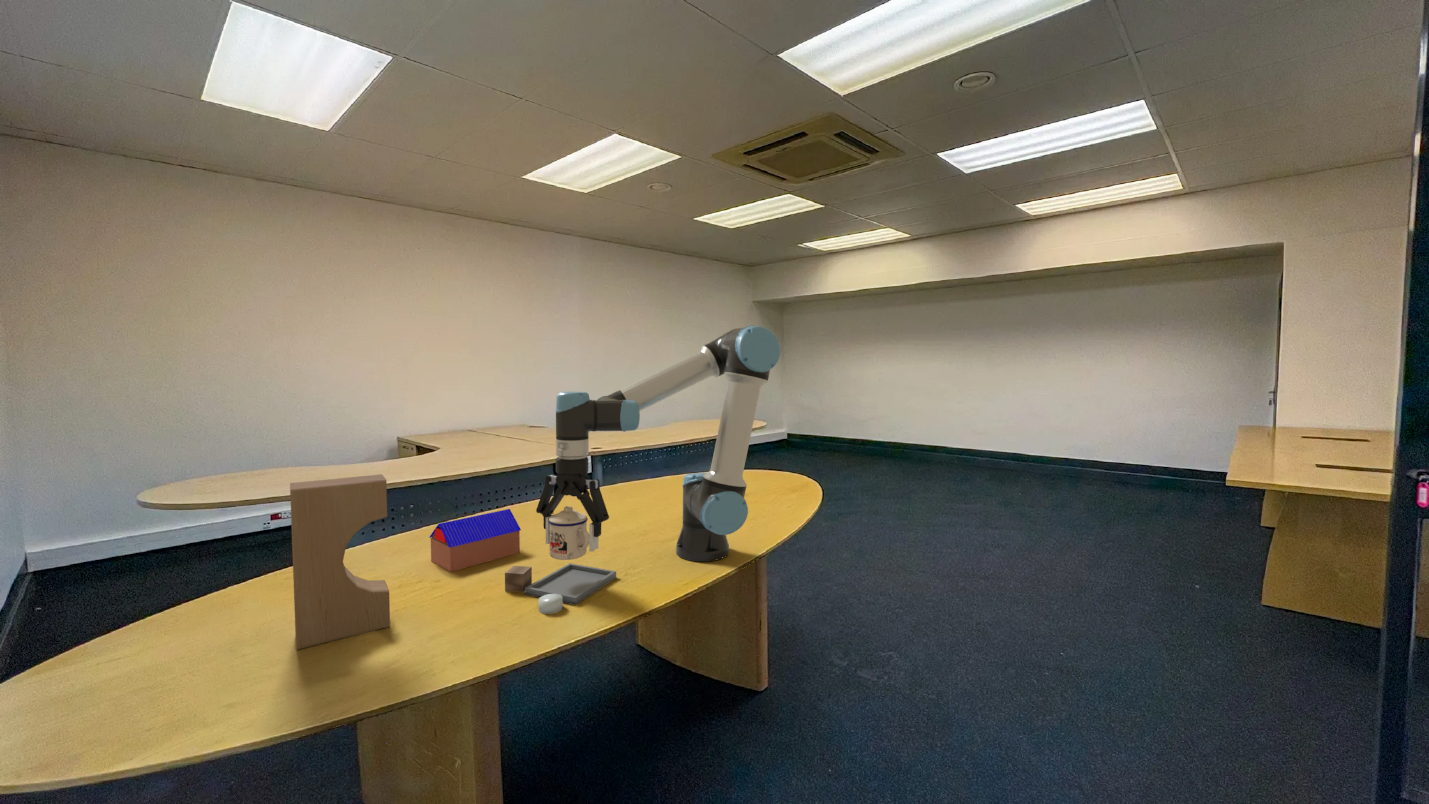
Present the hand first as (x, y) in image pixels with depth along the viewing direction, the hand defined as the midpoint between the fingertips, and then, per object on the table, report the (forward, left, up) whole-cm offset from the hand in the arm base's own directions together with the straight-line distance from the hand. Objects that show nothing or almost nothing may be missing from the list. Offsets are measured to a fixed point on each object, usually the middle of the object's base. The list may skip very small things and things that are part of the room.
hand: (571, 546), depth 129 cm
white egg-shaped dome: (-3, +12, -10) cm, 16 cm away
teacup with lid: (0, 0, -3) cm, 3 cm away
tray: (0, 0, -10) cm, 10 cm away
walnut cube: (+11, +6, -10) cm, 16 cm away
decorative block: (+28, +36, -10) cm, 47 cm away
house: (+36, -6, -10) cm, 38 cm away
